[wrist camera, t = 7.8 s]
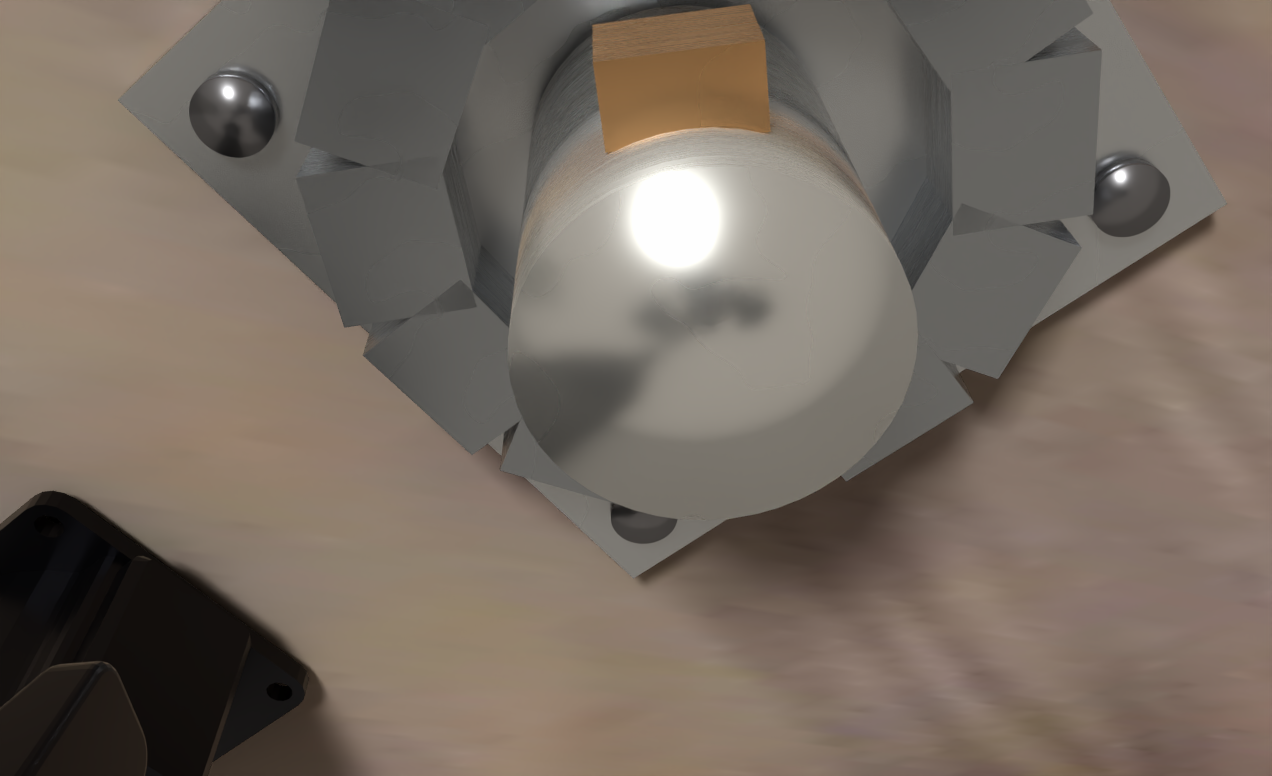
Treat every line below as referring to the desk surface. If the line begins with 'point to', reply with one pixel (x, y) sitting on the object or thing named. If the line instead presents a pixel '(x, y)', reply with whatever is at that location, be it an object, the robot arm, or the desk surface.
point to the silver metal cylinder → (701, 274)
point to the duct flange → (499, 153)
